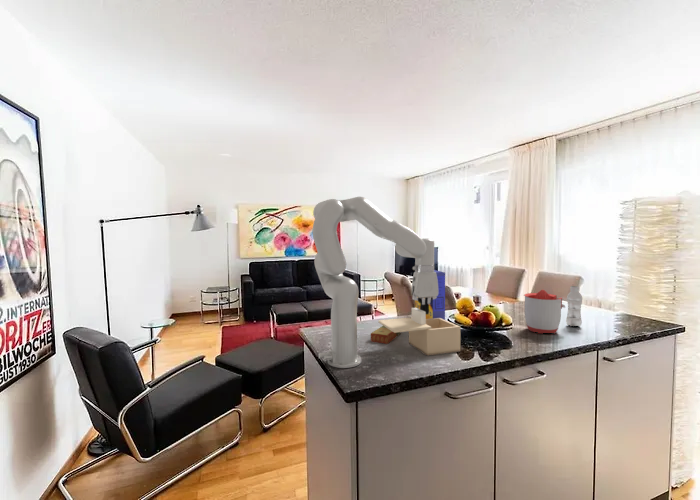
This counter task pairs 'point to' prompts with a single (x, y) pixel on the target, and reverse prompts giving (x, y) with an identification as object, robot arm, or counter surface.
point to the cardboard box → (436, 337)
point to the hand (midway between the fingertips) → (424, 313)
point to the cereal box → (437, 299)
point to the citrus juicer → (543, 312)
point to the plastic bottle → (574, 307)
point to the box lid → (407, 322)
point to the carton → (383, 335)
